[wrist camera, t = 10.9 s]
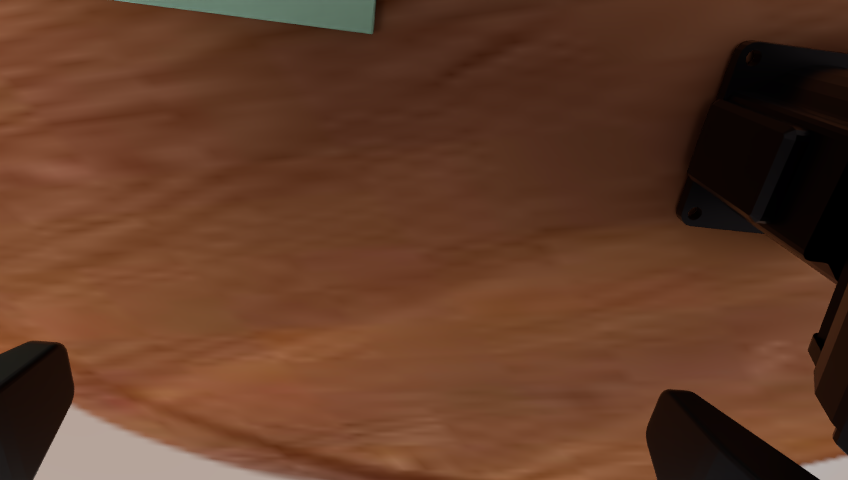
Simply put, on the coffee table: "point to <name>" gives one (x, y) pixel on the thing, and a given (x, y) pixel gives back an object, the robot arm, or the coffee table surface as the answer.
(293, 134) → the coffee table surface
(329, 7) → the board
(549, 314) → the coffee table surface
